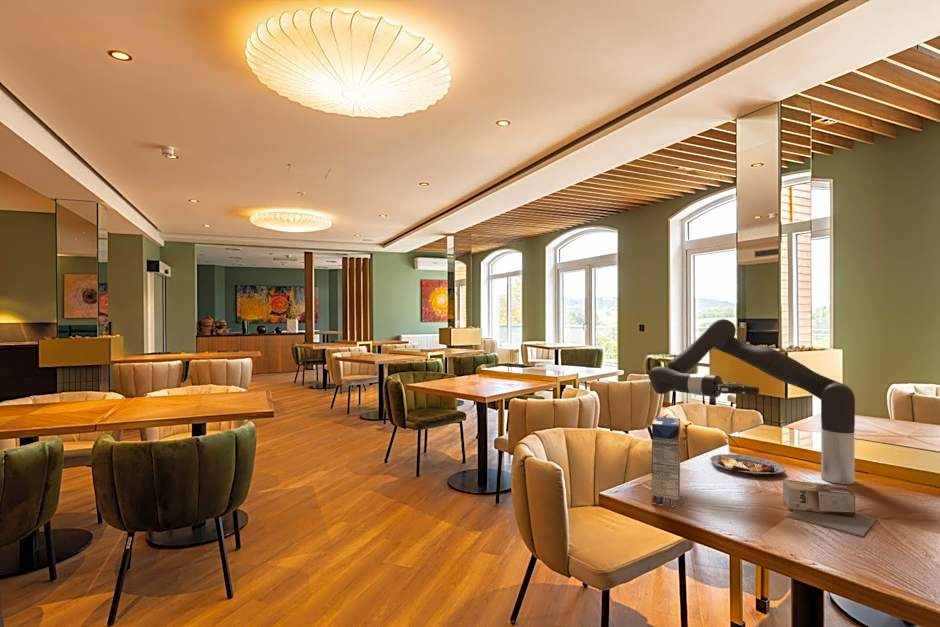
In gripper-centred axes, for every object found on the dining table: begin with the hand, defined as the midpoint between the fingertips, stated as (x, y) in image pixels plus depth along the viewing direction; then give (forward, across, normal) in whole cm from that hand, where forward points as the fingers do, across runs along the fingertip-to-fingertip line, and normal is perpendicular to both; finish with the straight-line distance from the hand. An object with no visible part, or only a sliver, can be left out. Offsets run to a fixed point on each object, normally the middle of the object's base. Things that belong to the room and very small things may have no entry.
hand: (758, 390), depth 164 cm
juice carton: (-15, -32, +32) cm, 48 cm away
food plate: (-11, +21, +32) cm, 40 cm away
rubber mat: (+22, -11, +32) cm, 41 cm away
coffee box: (+10, -10, +28) cm, 32 cm away
